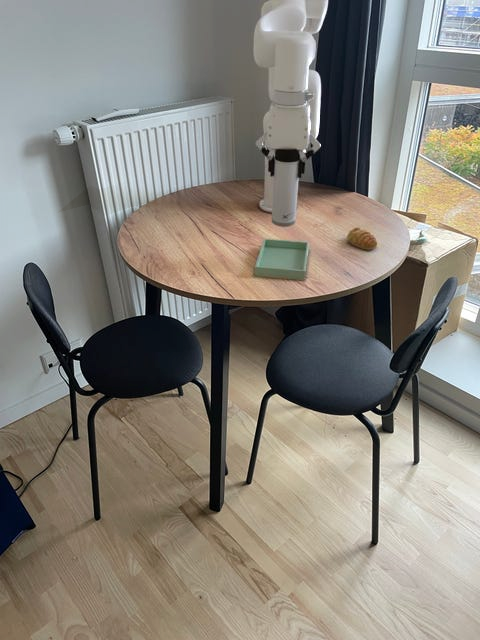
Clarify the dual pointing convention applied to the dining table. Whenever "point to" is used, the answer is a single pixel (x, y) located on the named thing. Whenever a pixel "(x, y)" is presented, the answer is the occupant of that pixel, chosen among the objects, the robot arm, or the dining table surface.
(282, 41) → the robot arm
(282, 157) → the travel mug
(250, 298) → the dining table surface
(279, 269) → the tray
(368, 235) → the pastry
